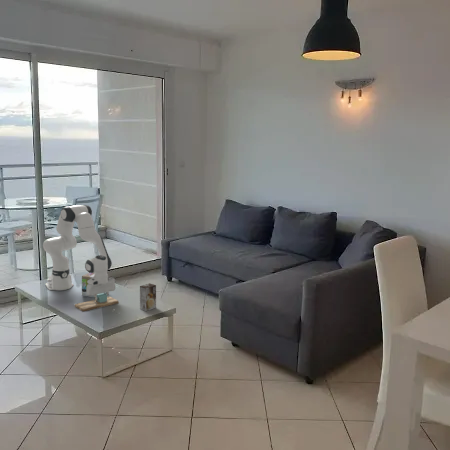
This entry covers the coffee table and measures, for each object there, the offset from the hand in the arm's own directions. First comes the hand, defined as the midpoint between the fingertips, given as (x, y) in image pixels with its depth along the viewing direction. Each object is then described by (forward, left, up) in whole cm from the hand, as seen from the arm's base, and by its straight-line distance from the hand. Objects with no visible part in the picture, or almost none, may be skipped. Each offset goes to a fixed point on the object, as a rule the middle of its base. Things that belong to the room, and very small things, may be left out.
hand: (101, 299), depth 310 cm
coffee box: (+27, +20, -3) cm, 34 cm away
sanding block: (0, 0, -2) cm, 2 cm away
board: (0, -3, -3) cm, 5 cm away
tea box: (-23, +6, -4) cm, 24 cm away
